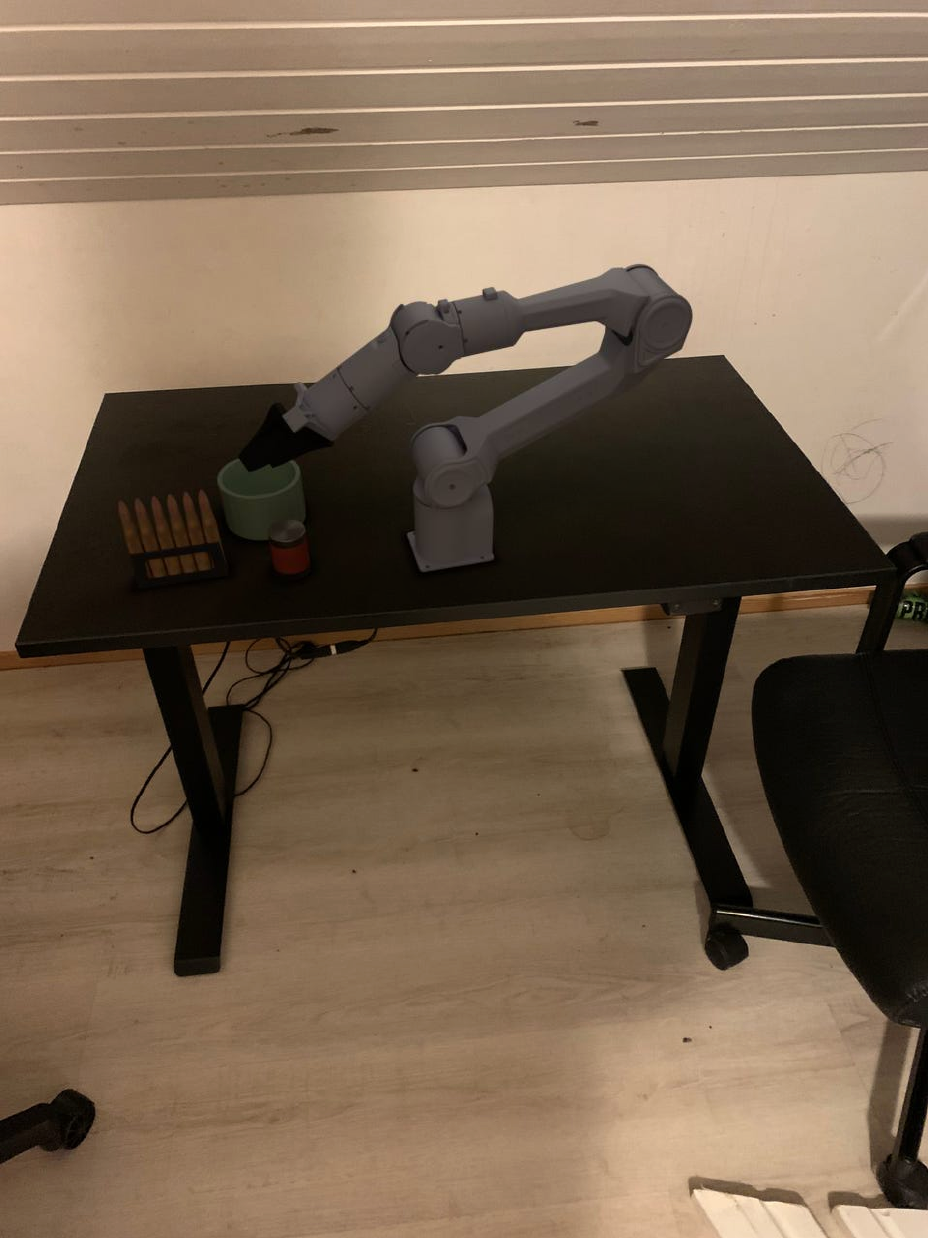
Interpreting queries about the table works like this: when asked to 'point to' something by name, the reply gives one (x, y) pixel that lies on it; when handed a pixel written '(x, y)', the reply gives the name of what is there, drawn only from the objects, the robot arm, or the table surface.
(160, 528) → the ammunition clip
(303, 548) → the tin can
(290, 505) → the cup
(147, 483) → the table surface
